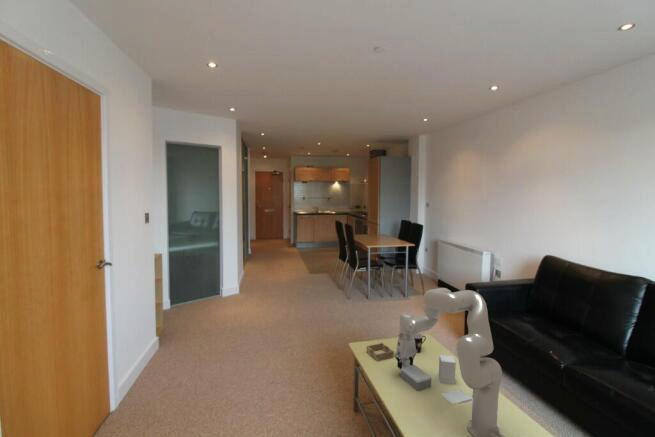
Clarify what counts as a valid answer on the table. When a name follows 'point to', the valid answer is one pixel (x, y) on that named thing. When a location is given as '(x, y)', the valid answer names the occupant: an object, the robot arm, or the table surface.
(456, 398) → the hard drive
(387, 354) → the frame
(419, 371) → the lid
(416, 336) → the coffee mug
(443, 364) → the supplement box
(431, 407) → the table surface
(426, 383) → the tub
